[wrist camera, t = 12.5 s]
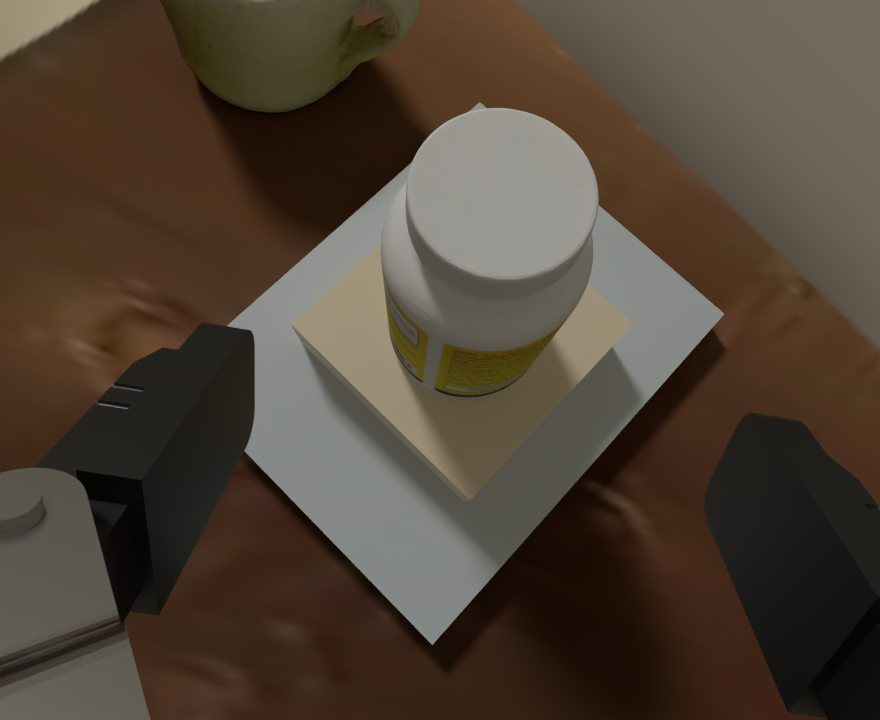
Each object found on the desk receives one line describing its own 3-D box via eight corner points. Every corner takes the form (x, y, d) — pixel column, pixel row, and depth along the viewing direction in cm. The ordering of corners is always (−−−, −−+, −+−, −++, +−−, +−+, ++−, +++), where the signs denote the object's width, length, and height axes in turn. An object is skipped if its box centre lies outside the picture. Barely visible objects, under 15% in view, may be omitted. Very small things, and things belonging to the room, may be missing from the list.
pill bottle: (563, 301, 26) (673, 150, 15) (496, 430, 25) (566, 362, 14) (433, 232, 26) (452, 39, 16) (359, 355, 25) (325, 233, 14)
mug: (96, 58, 31) (72, -164, 22) (227, -25, 36) (247, -228, 28) (304, 208, 32) (356, 52, 23) (400, 106, 37) (470, -50, 29)
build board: (430, 637, 27) (436, 661, 22) (182, 382, 29) (143, 358, 24) (709, 323, 31) (759, 291, 27) (476, 120, 33) (487, 60, 29)
